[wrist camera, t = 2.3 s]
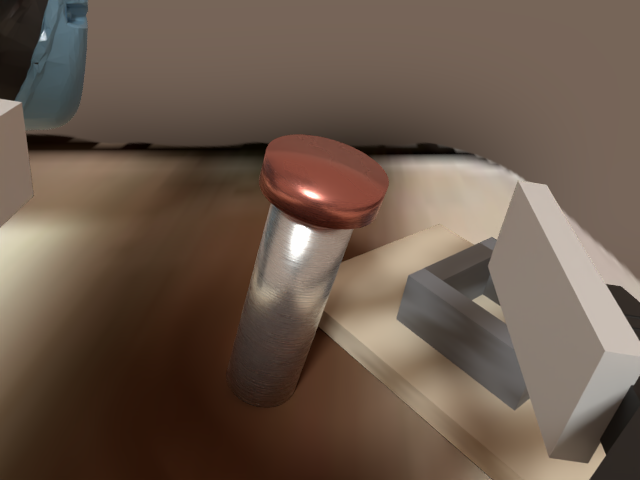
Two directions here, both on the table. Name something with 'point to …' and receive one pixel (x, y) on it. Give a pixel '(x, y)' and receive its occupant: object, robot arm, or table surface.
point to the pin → (298, 258)
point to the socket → (445, 349)
